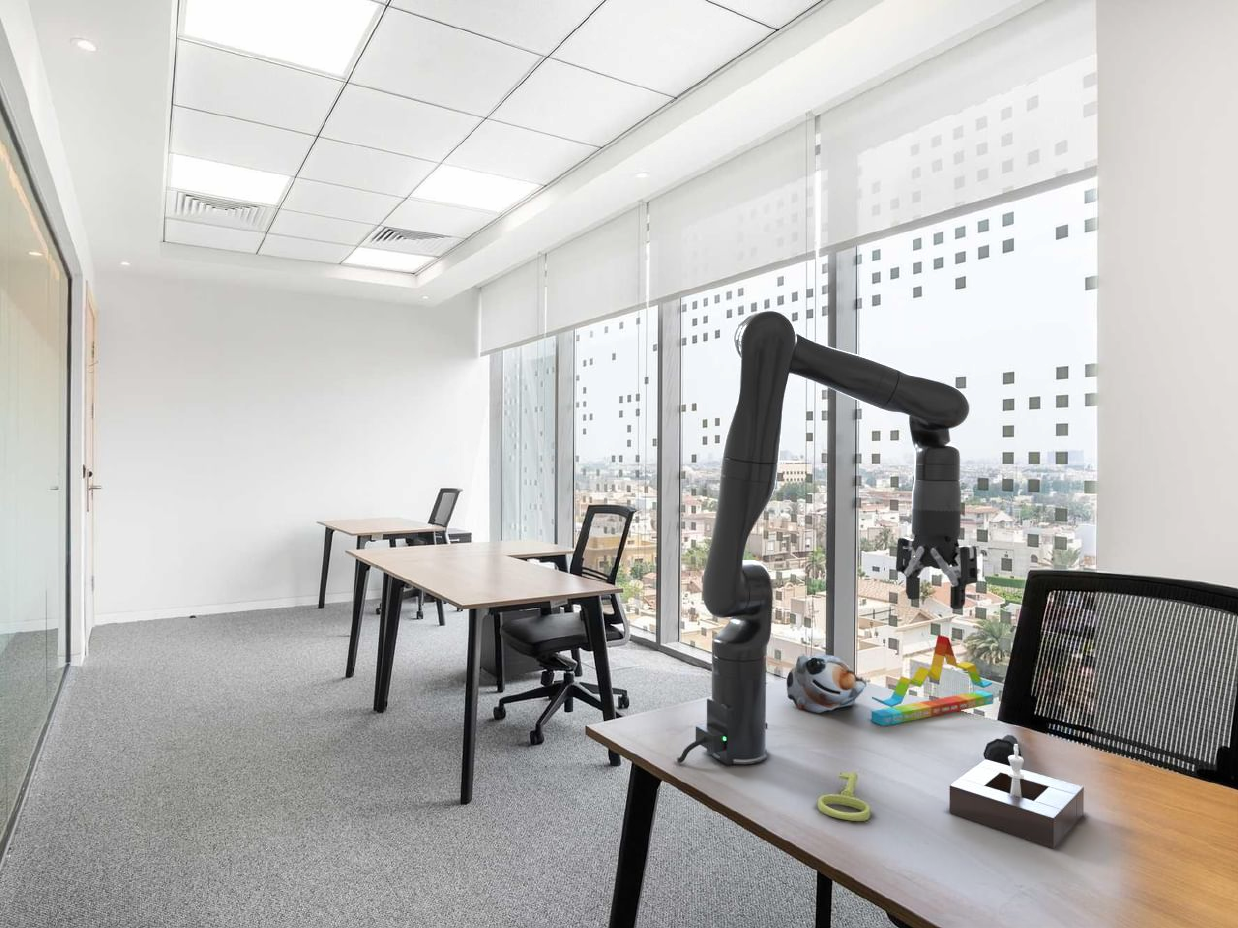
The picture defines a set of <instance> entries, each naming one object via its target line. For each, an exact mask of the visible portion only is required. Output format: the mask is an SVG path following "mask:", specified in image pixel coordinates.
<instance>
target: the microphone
mask: <svg viewBox="0 0 1238 928" xmlns="http://www.w3.org/2000/svg"><path fill="white" fill-rule="evenodd" d="M1018 743H1019V742H1018V739H1017V737H1015V736H1014V735H1013V734H1007V735H1004V736H1003V737H1002V738H995V739H994V740H992V741H989V742H987V744H986V745H985V747H984V751H983V753H982V755H983V759H984V760H985V759H986V760H990V761H993V762H997V763H1000V764H1004V765H1007V766H1011V765H1010V762H1009V759H1008V757H1009V756H1010V755H1014V744H1018ZM1018 745H1019V744H1018ZM1018 751H1019V754H1018V756H1020V757H1022V758H1023V755H1022V752H1021V750H1020V748H1019V747H1018Z"/></svg>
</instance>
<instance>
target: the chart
mask: <svg viewBox="0 0 1238 928" xmlns="http://www.w3.org/2000/svg"><path fill="white" fill-rule="evenodd" d="M944 662H946V665H950V666H952V667H955V668H959V669H962V670H965V671H967V673H968V676H969V679H970V682H971V684H972V685H973V686H976V687H980V688H982V689H985V688H987V687H989V686H991V685H993V682H992V681H987V680H985V679H982V678H981V675H980V674H979V671H978V669H977V667H976V664H975V663H971V662H968V661H965V660H964V661H962V662H959V663H958V662H957V659H956V656H955V653H954V650H953V647H952V643H951V641H950V638H949V637H948V636H944V635H941V634H938V635H937V638H936V642H935V648H934V652H933V656H932V661H931V664H930V668H929V669H928V668H926V667H923V666H919V667H918V668H917V670H916V671H915V673H914V675H913V677H912V678H911V679H910V678H908V677H905V676H902V675H900V677H899V679H898V681H897V684H896V686H895V688H894V690H893V692H892V695H891V696H890V697H888V698H886V699H884V700H882V699H879V698H877V697H874V696H871V699H872V700H874V701H876V702H878V703H880V704H882V705H885V706H888V707H887V708H881V709H875V710H871V722H873V723H876V724H877V725H880V726H882V727H883V726H884V727H885V726H888V725H894V724H900V723H904V722H909V721H915V720H920V719H925V718H929V717H934V716H940V715H945V714H949V713H953V712H961V711H964V710H969V709H975V708H978V707H984V706H988V705H994V694H993V693H991V692H987V691H984V690H977V691H972V692H966V693H962V694H956V695H951V696H950V695H949V696H945V697H940V698H935V699H929V700H924V701H919V702H913V703H908V704H903V705H900V704H902V703H903V701H904V698H905V696H906V694H907V692H908V690H909V688H910V685H913V686H915V687H919V688H921V687H922V686H923V684H924V683H925V681H926V679H927V677H928V678H930V679H933V680H936V681H940V680H941V675H942V671H943V667H944Z"/></svg>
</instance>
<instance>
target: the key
mask: <svg viewBox="0 0 1238 928" xmlns="http://www.w3.org/2000/svg"><path fill="white" fill-rule="evenodd" d="M858 778H859V777H858V773H857V772H855V771H851V772H850V773H846V772H841V771H840V772H839V775H838V779H841V780H847V782H846V786H845V787H844V789H843V790H842V791H841V792H840V794H835V793H830V794H824V795H823V794H822V795H820V796H819V798H818V801H817V808H818V810H819V812H821V813H822V814H825V815H826V816H829V817H833V818H836V819H840V820H845V821H851V822H852V821H853V822H864V821H867V820H869V819H870V817H871V807H870V805H869V804H868V803H867V802H866V801H864V800H862V799H859V798H857V797H855V795H854V791H855V789H856V785H857V781H858ZM828 805H840V806H841V805H842V806H846V807H851V808H854V809H857V810H860V811H858V812H846V811H840V810H837V809H834V808H832V807H830V806H828Z"/></svg>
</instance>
